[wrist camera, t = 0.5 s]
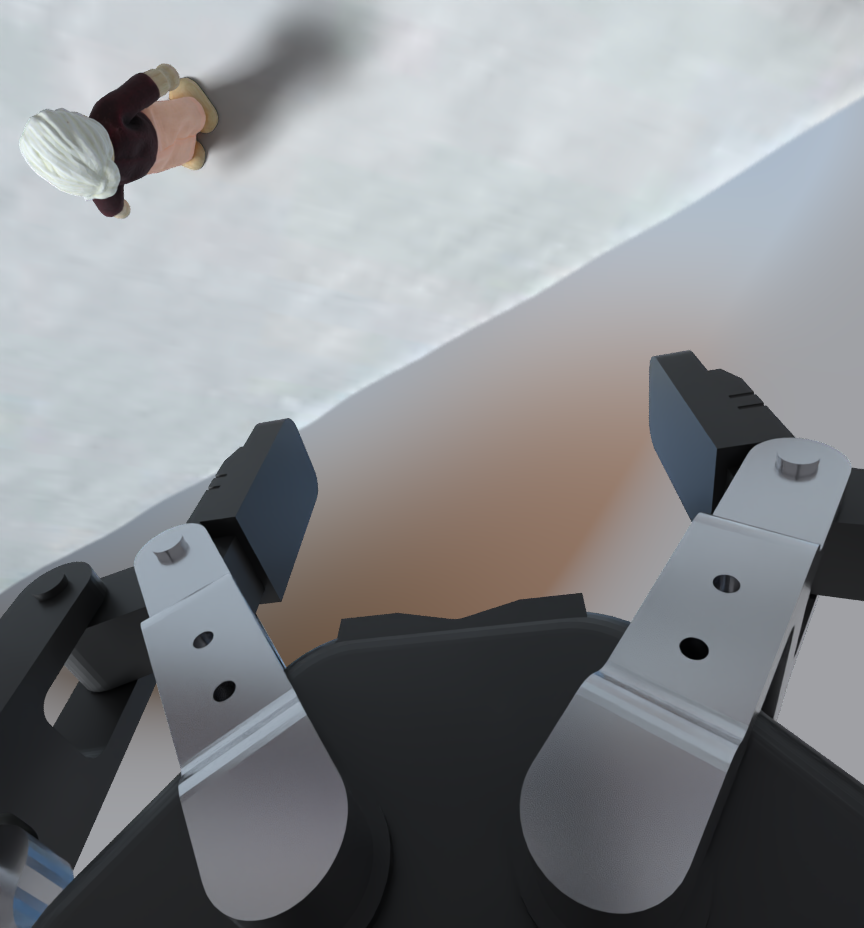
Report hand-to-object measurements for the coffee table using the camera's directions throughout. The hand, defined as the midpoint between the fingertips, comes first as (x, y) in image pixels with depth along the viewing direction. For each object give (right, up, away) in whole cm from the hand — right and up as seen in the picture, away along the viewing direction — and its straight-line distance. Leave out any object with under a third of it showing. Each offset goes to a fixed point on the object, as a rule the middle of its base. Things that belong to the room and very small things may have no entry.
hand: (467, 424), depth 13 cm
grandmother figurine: (-15, +18, +19) cm, 30 cm away
